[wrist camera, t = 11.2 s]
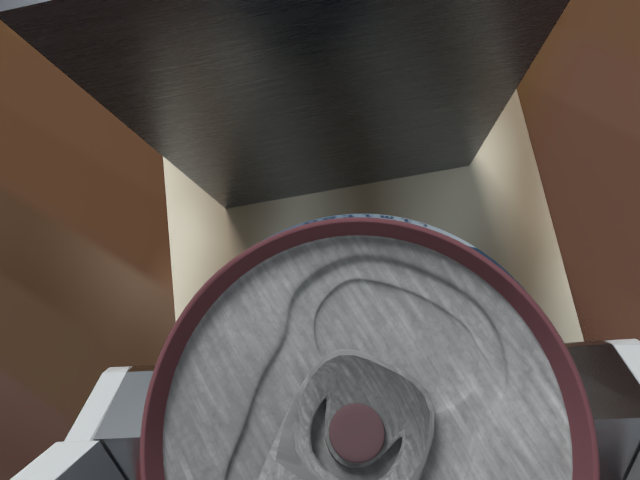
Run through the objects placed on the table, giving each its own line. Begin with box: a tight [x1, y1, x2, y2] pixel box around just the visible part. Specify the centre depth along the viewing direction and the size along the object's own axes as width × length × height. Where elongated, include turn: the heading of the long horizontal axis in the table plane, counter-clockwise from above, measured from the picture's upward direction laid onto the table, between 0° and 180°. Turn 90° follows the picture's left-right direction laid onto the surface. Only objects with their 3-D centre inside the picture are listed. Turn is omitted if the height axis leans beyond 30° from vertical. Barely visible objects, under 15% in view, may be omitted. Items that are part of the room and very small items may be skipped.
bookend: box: [0, 0, 570, 209], centre depth 15 cm, size 12×4×14 cm, turn 98°
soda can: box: [140, 214, 600, 480], centre depth 11 cm, size 7×7×12 cm
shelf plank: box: [163, 90, 584, 343], centre depth 22 cm, size 18×16×2 cm
